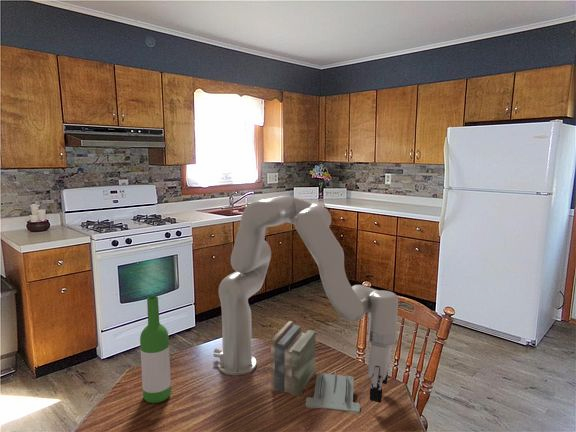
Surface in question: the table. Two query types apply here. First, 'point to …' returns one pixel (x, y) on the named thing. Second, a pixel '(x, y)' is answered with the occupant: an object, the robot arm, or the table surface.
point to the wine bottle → (155, 356)
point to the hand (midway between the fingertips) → (378, 391)
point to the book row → (292, 359)
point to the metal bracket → (333, 393)
